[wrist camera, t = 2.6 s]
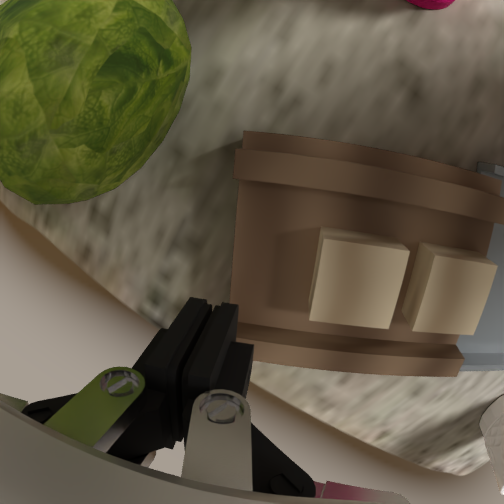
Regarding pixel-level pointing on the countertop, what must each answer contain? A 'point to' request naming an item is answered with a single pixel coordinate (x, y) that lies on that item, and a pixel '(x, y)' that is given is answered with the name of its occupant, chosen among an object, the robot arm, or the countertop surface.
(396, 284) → the chip
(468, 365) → the tray
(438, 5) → the pepper mill
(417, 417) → the countertop surface
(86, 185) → the lettuce
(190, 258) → the countertop surface
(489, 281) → the chip
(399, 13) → the countertop surface
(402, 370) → the brown wooden box
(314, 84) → the countertop surface
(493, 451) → the white cup
